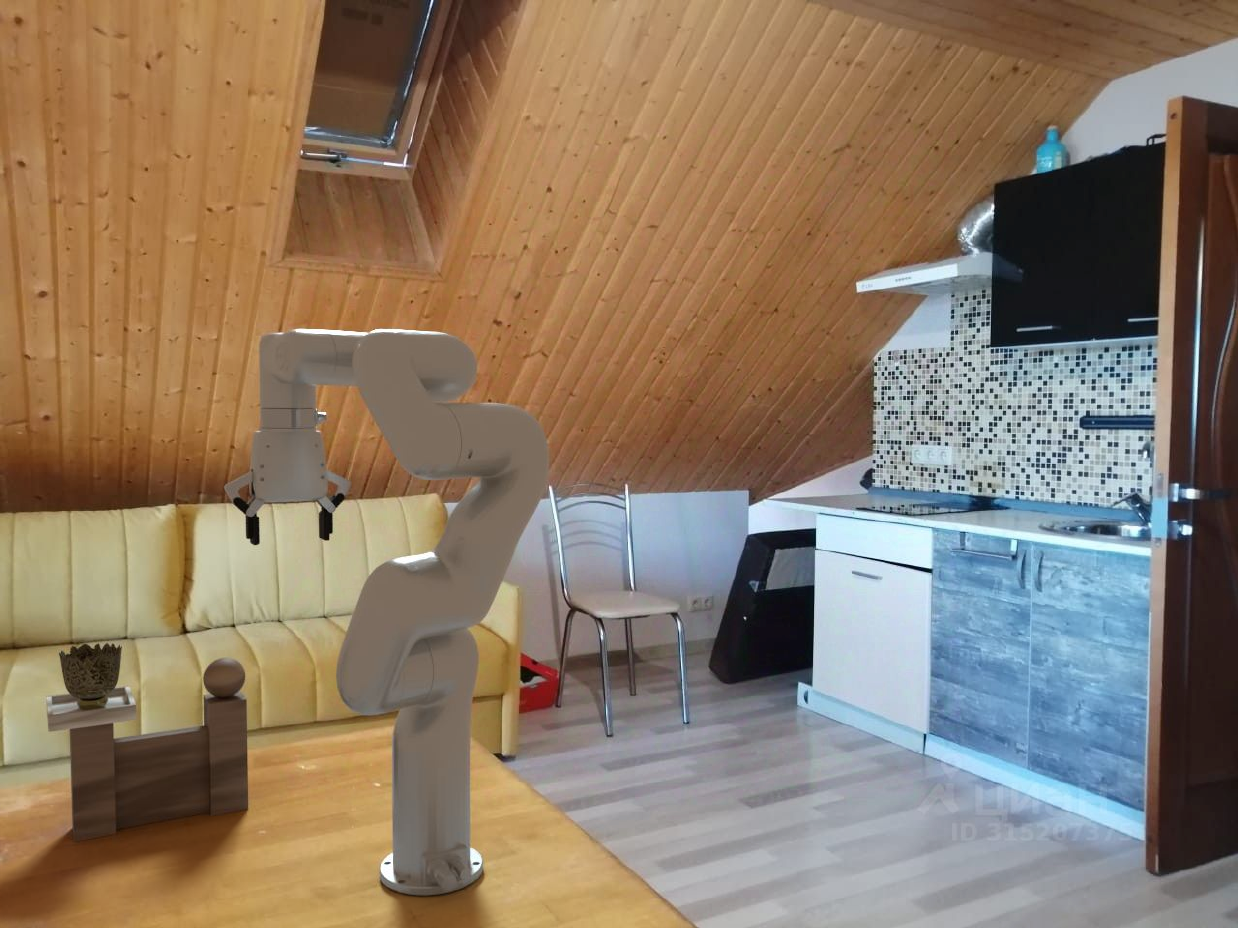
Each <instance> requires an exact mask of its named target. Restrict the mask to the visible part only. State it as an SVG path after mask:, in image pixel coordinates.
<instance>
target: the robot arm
mask: <svg viewBox="0 0 1238 928" xmlns="http://www.w3.org/2000/svg"><path fill="white" fill-rule="evenodd" d="M258 347H259V348H258V350H259V351H258V353H259V355H258V356H259V361H258V363H259V408H260V409H259V411H260V412H259V413H260V414H259V415H260V416H259V418H260V419H259V420H260V430H257V431H255V430H254V432H253V437H252V443H251V452H250V462H249V463H250V464H249V472H246V473H245V474H243V475H241V476H239V477H237V478H235V479H234V480H232V481H230V482H227V484H224V486H223V489H224V491H225V493H226V495H227V496H228V498H229V500H230V501H231V504H233V506H235V507H236V508H237V509H238V510H239V511H240V512H242V513H243V515H245V537H246V539H247V540H249V542H250V544H251V545H253V546H259V545H260V539H261V538H260V537H261V536H260V517H259V516H258V511H259V510H260V509H261V508H262V507H263V506H264V504H265V503H285V502H286V503H287V502H307V501H308V502H311V501H315V503H317V504H318V505H319V506H320V508H321V509H320V511H319V512H318V537H319V538H318V539H321V540H323V541H327V542H328V541H330V535H333V533H334V528H333V525H334V523H333V522H334V521H333V519H334V518H333V517H334V516H333V513H335V511H336V510H337V508H338V507H339V506H340V505H341V504H342V503H343V502H344V500H345V499H346V495H347V494H348V492H349V490H350V488H351V486H352V481H350V480H349V479H347V478H344V477H342V476H340V475H338V474H337V473H334V472H332V471H330V470H328V469H327V468H328V467H327V459H326V452H325V444H324V439H323V435H322V431H321V430H317V428H318V426H319V424H321V423H327V418H328V417H327V413H326V412H321V411H320V412H319V411H318V409H317V386H338V387H339V386H341V387H343V386H346V387H357V390H358V392H359V395H360V397H361V398H362V401H363V403H364V404H365V405H366V407H367V410H368V412H369V413H370V415H371V417H372V419H373V420H374V422H375V424H376V425H377V427H378V429H379V430H380V432H381V434H382V436H383V437H384V440H385V441H386V444H387V445H388V446H389V449H390V450H391V452H392V454H393V456H394V457H395V460H396V461H398V463H399V465H400V466H401V467H402V468H403V469H404V470H405V471H406V472H407V473H408V474H410V476H413V477H414V478H416V479H420V480H425V481H442V480H443V481H444V480H455V479H459V480H460V479H469V478H470V479H471V478H479V480H478V482H477V483H476V484H475V485H474V486H473V487H472V488H471V489H470V490H469V491H468V492H467V493H466V494H464V496H463V497H462V498H461V499H460V500H459V502H458V503H457V504H456V505H455V507H454V508H453V510H452V512H451V513H450V514H449V517H448V519H447V521H446V523H445V527H444V529H443V533H442V534H441V536H440V538H439V540H438V543H437V544H436V546H435V547H434V548H433V549H431V550H430V551H427V552H425V553H424V552H423V553H421V554H420V553H419V554H415V555H414V554H413V555H407V556H401V557H396V558H393V559H389V560H387V561H384V562H383V563H381V564H380V565H378V566H377V567H376V568H375V569H373V570H372V572H371V573H370V574H369V576H367V579H366V580H365V582H364V584H363V585H362V586H363V587H362V589H361V590H360V593H359V596H358V599H357V602H356V605H355V607H354V611H353V613H352V616H351V617H350V621H349V625H348V627H347V629H346V633H345V635H344V638H343V641H342V644H341V647H340V650H339V654H338V659H337V663H336V672H335V674H336V675H335V677H336V678H335V679H336V687H337V690H338V694H339V697H340V698H341V701H342V702H343V704H344V705H345V706H346V707H347V708H348V709H349V710H351V711H352V712H354V713H356V714H358V715H362V716H377V715H382V714H386V713H390V712H394V711H397V710H399V712H398V714H397V716H396V719H395V722H394V726H393V729H392V730H393V731H392V737H391V779H392V780H391V789H392V792H391V794H392V795H391V796H392V798H391V800H392V801H391V802H392V804H391V805H392V807H391V808H392V815H391V817H392V852H391V853H390V854H389V855H387V856H386V857H385V858H384V859H383V860H382V862H381V864H380V866H379V877H380V881H381V883H383V885H384V886H385V887H387V888H389V889H391V890H392V891H395V892H397V893H399V894H404V895H408V896H409V895H411V896H435V895H436V896H437V895H443V894H448V893H449V894H450V893H452V892H455V891H459V890H460V889H461V890H462V889H463V888H466V887H467V886H470V885H471V884H473V883H474V882H476V881H477V879H479V878H480V876H481V875H482V872H483V870H484V869H483V868H484V859H483V856H482V855H481V853H480V852H478V851H477V850H475V848H473V847H471V729H472V728H471V722H472V721H471V719H472V706H473V699H474V698H473V697H474V692H475V687H476V683H477V677H478V671H479V659H480V657H479V656H480V655H479V648H478V644H477V641H476V639H475V636H474V635H473V633H472V632H471V631H470V629H469V628H472V627H474V626H476V625H478V624H480V623H481V622H482V621H483V620H484V619H485V618H486V616H487V615H488V613H489V611H490V610H491V609H492V606H493V604H494V601H495V599H496V597H497V595H498V592H499V590H500V587H501V585H502V582H503V580H504V579H505V575H506V574H507V571H508V568H509V566H510V564H511V561H512V559H513V556H514V554H515V551H516V548H517V546H518V544H519V541H520V539H521V537H522V535H523V533H524V531H526V527H527V526H528V524H529V522H530V521H531V519H532V518H533V515H534V513H535V511H536V509H537V508H538V506H539V504H540V502H541V500H542V497H543V494H544V491H545V488H546V485H547V483H548V477H549V474H550V473H549V470H550V451H549V445H548V441H547V437H546V434H545V432H544V430H543V427H542V426H541V424H540V422H539V421H538V420H537V418H536V417H535V416H534V415H533V414H531V413H530V412H528V411H527V410H525V409H524V408H522V407H518V406H516V405H511V404H507V403H499V402H453V401H455V400H457V399H460V398H462V397H463V396H464V395H466V394H467V393H468V392H469V390H471V388H472V387H473V385H474V383H475V381H476V379H477V374H478V362H477V358H476V355H475V353H474V352H473V350H472V348H471V347H470V346H469V345H468V344H467V343H465V341H463V340H462V339H461V338H459V337H457V336H454V335H451V334H450V333H445V332H440V331H422V330H410V329H409V330H406V329H393V328H392V329H390V328H388V329H386V328H385V329H383V328H379V329H375V330H370V331H369V332H357V331H344V330H332V329H330V330H329V329H307V328H296V329H290V330H287V331H285V332H271V333H266V334H264V335H262V337H261V338H260V340H259V344H258ZM328 481H329V482H331V483H332V484H335V485H337V489H336V492H335V493H334V494H333V495H332V496H331V497H330V498H328V497H327V494H328V489H329V487H328V486H329V485H328V484H329V483H328ZM247 485H248V486H249V489H248V490H249V495H250V497H251V498H250V500H249V501H248V502H246V501H245V500H244V499H242V497H241V495H240V494H239V491H240V489H242V488H243V487H245V486H247Z"/></svg>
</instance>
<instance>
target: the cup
mask: <svg viewBox="0 0 1238 928" xmlns="http://www.w3.org/2000/svg"><path fill="white" fill-rule="evenodd" d="M69 650H70V651H69V653H65V651H64V650H61V651H60V652H58V656H59V660H60V666H61V673H62V679H63V683H64V686H65V688H66V691H67V693H70V694H71V695H72V696H73V697H76V698H79V699H78V701H77V705H78V707H79V708H80V709H82V710H92V709H99V708H102V707H104V706H105V705H106V704H107V702H108V698H107V696H106V695H107V694H109V693H110V692H112V691H113V690H114V688H115V687H117V685H118V682H119V677H120V671H121V660H122V650H123V646H122V645H120V644H118V645H117V647H116V646H115V644H114V643H112V644H111V645H110V644H109V643H108V642H106V643H104V645H103V646H102V647H101V646H100V643H96V644H95V645H94V646H93V647H91V645H89V644H87V643H83V644H81V645H80V646H78V648H77V646H74V645H72V646H71V647H70V649H69Z"/></svg>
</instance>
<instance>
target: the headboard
mask: <svg viewBox="0 0 1238 928" xmlns="http://www.w3.org/2000/svg"><path fill="white" fill-rule="evenodd" d="M245 682H246V671H245V669H244V666H243V665H242V664H241V663H240V662H239V661H238V660H236V659H235V658H231V657H220V658H218V659H215V660H213V661H212V662H210V663H209V665H208V666H207V667H206V668H205V670H204V672H203V685H204V688H205V689H206V691H207V692H208V693H209V694H203V698H202V699H203V725H198V726H191V727H190V726H189V727H185V728H177V729H170V730H164V731H158V732H157V731H156V732H151V733H143V734H137V735H129V736H124V737H115V736H114V735H115V734H114V731H115V730H114V724H116V723H122V722H123V723H124V722H129V721H137V720H138V719H137V717H138V716H137V704H136V700H135V698H134V696H133V693H132V690H131V687H130V685H126V686H116V687H115V688H114V690H113V691H112V692H110V693H109V694H107V695H106V696H107V698H108V702H107V704H106V705H105V706H104V707H102V708H99V709H92V710H82V709H80V708H79V707H78V705H77V701H78V699H79V698H76V697H73V696H72V695H71V694H70V693H69V692H67V693H60V694H59V693H58V694H52V695H50V694H49V695H45V696H46V719H47V729H48V733H51V732H57V731H58V732H59V731H64V730H69V745H70V746H69V750H70V751H69V753H70V754H69V755H70V757H69V758H70V759H69V760H70V780H71V781H70V786H71V787H70V788H71V789H70V791H71V793H70V794H71V819H72V820H71V821H72V822H71V823H72V825H71V826H72V828H71V829H72V834H73V835H72V836H73V842H74V843H75V842H81V841H86V840H91V839H96V838H101V837H107V836H112V835H117V831H118V830H121V829H122V830H123V829H127V828H132V827H137V826H143V825H148V824H154V823H160V822H164V821H169V820H174V819H180V818H185V817H186V818H187V817H192V816H196V815H200V814H207V813H209V814H210V817H212V816H218V815H223V814H228V813H234V812H239V811H240V812H241V811H244V810H249V775H248V774H249V772H248V769H249V767H248V766H249V765H248V713H247V712H248V711H247V710H248V707H247V706H248V705H247V701H248V700H247V698H246V696H245V695H244V693H243V692H242V691H241V690H242V688H243V686H244V684H245Z"/></svg>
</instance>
